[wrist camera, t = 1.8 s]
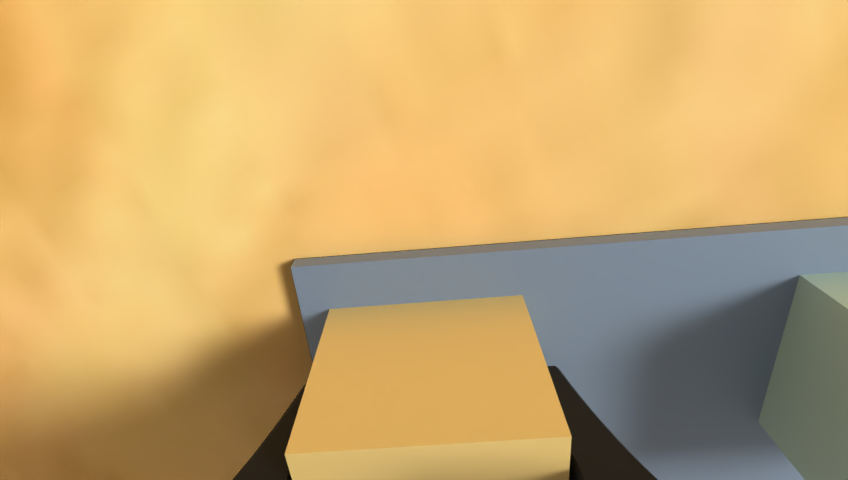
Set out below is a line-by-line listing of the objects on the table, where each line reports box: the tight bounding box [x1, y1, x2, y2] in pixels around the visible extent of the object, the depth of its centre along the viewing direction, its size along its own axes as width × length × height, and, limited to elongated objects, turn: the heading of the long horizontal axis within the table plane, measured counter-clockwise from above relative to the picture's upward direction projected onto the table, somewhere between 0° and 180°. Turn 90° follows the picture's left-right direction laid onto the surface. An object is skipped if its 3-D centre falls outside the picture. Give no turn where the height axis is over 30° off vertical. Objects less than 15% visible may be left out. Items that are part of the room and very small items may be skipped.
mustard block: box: [285, 295, 572, 480], centre depth 11 cm, size 5×5×4 cm
